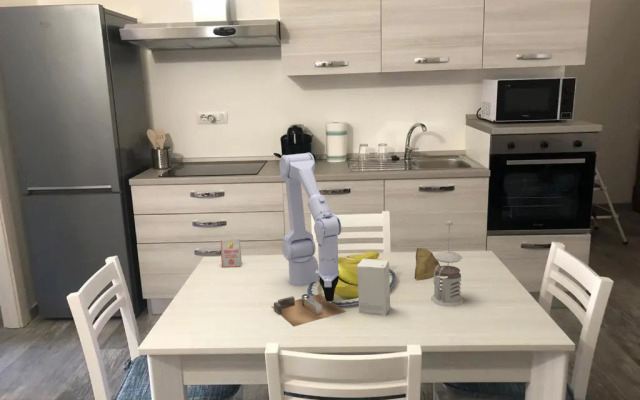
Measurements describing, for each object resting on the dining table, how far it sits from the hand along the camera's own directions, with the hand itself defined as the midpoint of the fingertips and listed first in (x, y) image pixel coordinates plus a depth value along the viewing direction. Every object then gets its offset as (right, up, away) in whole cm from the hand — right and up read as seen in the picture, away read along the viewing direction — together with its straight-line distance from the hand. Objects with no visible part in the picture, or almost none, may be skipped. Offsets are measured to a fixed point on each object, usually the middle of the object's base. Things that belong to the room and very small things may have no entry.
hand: (329, 300), depth 155 cm
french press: (+35, -1, +3) cm, 36 cm away
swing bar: (-5, -2, -2) cm, 6 cm away
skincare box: (+13, -3, -3) cm, 14 cm away
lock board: (-6, -3, -2) cm, 7 cm away
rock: (+34, +4, +23) cm, 41 cm away
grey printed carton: (-36, +5, +38) cm, 52 cm away
